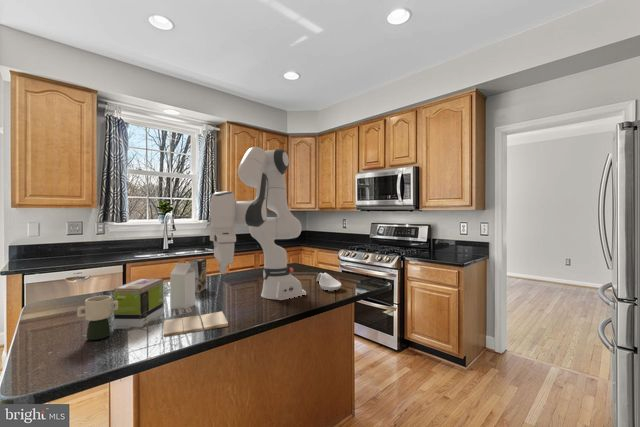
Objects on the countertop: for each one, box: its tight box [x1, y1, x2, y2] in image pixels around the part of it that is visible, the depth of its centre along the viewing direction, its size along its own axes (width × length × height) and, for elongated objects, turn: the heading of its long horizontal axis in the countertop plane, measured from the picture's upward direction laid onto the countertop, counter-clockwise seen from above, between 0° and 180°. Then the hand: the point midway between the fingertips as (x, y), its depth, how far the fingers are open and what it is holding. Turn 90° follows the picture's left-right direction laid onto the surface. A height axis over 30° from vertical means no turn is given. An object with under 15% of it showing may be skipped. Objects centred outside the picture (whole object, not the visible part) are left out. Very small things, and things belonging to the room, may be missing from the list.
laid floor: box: [163, 315, 203, 337], centre depth 107 cm, size 12×14×2 cm
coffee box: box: [187, 258, 207, 294], centre depth 158 cm, size 9×6×16 cm
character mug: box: [76, 295, 118, 341], centre depth 98 cm, size 11×7×13 cm, turn 135°
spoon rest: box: [315, 272, 342, 292], centre depth 166 cm, size 24×12×7 cm, turn 19°
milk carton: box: [169, 262, 196, 310], centre depth 130 cm, size 7×7×19 cm
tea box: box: [113, 278, 165, 330], centre depth 113 cm, size 15×10×15 cm, turn 178°
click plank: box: [199, 310, 229, 331], centre depth 111 cm, size 8×14×2 cm, turn 27°
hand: (222, 273), depth 109 cm, fingers closed
